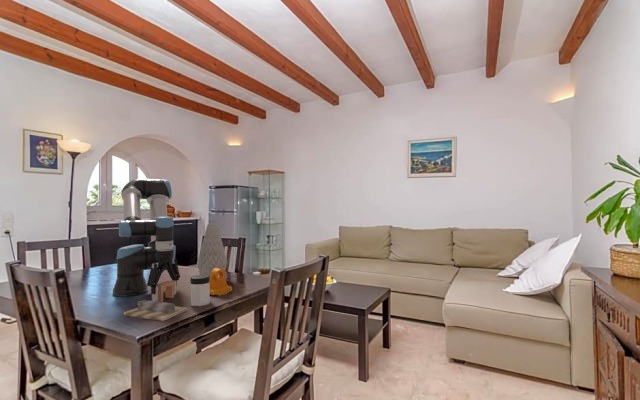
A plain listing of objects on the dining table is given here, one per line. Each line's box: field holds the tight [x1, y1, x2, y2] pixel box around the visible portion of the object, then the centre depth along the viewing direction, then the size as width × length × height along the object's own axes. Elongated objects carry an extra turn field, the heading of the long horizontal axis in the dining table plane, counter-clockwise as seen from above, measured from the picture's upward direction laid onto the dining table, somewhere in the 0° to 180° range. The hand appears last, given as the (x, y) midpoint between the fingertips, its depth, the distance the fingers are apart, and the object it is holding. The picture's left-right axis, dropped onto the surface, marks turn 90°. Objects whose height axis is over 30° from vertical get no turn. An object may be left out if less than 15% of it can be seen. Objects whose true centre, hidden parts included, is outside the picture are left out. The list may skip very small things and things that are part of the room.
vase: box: [196, 223, 228, 276], centre depth 188 cm, size 17×17×33 cm
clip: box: [156, 280, 175, 302], centre depth 154 cm, size 4×8×8 cm, turn 162°
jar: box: [189, 274, 211, 307], centre depth 148 cm, size 9×8×12 cm
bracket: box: [210, 268, 233, 296], centre depth 164 cm, size 11×7×12 cm, turn 136°
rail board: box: [123, 299, 188, 322], centre depth 135 cm, size 20×13×4 cm, turn 72°
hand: (164, 297), depth 154 cm, fingers open, 10 cm apart
